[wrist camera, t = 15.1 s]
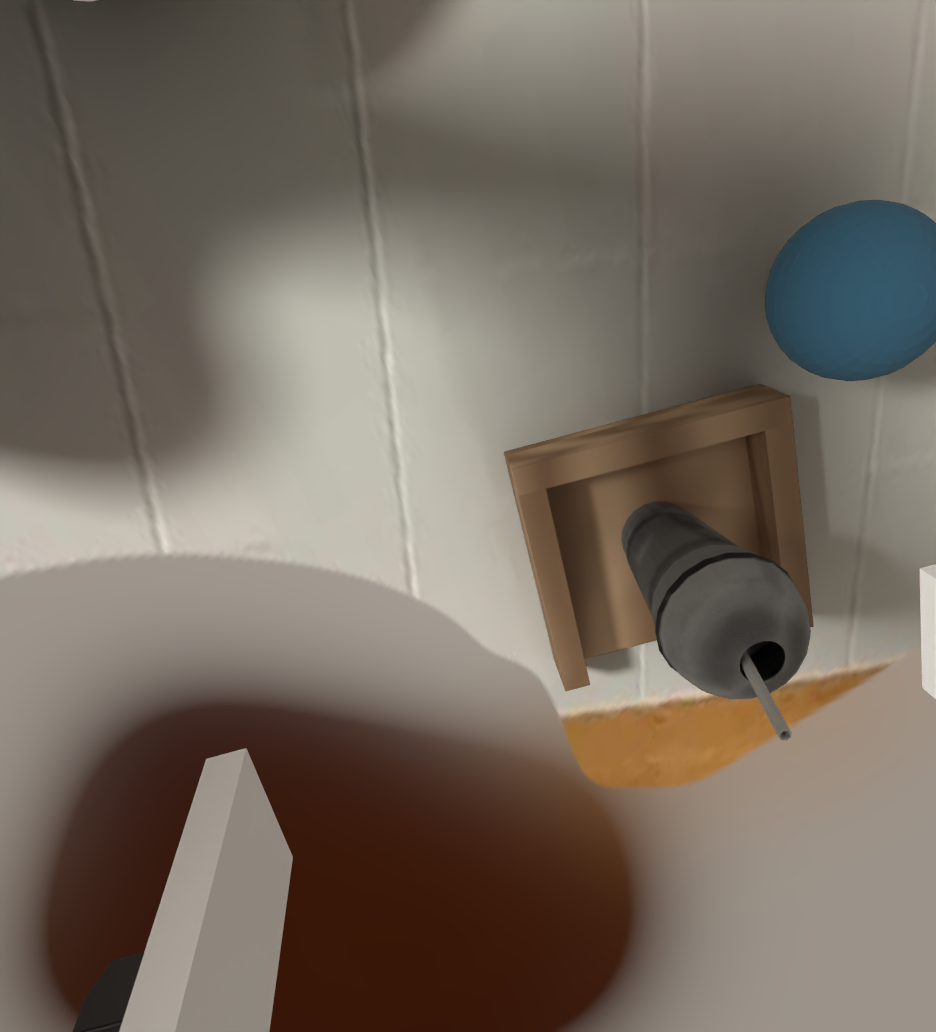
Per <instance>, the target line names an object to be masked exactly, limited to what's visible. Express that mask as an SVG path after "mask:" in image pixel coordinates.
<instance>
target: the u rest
mask: <svg viewBox="0 0 936 1032" xmlns="http://www.w3.org/2000/svg"><path fill="white" fill-rule="evenodd" d="M504 455H505V459H506V463H507V467H508V471H509V475H510V479H511V484H512V488H513V492H514V496H515V500H516V504H517V508H518V512H519V516H520V521H521V525H522V529H523V533H524V537H525V541H526V545H527V549H528V554H529V558H530V562H531V566H532V570H533V574H534V578H535V582H536V587H537V591H538V595H539V599H540V603H541V607H542V611H543V615H544V619H545V624H546V628H547V632H548V636H549V640H550V644H551V648H552V652H553V657H554V661H555V663H556V666H557V669H558V672H559V674H560V677H561V680H562V683H563V686H564V688H565V691H569V690H573V689H576V688H580V687H584V686H588V685H590V681H589V677H588V673H587V668H586V664H585V659H587V658H590V657H594V656H598V655H602V654H606V653H610V652H613V651H617V650H621V649H625V648H629V647H632V646H636V645H640V644H644V643H648V642H652V641H655V640H657V638H656V634H655V625H654V621H653V617H652V615H651V613H650V610H649V608H648V606H647V604H646V602H645V599H644V597H643V595H642V593H641V590H640V588H639V586H638V584H637V582H636V579H635V577H634V575H633V573H632V571H631V568H630V566H629V564H628V562H627V558H626V554H625V552H624V550H623V546H622V542H621V537H622V529H623V527H624V525H625V522H626V520H627V519H628V518H629V516H630V515H631V514H632V513H633V512H634V511H635V510H637V509H638V508H640V507H641V506H643V505H645V504H648V503H651V502H655V501H666V502H669V503H672V504H675V505H677V506H678V507H680V508H681V509H683V510H686V511H688V512H689V513H691V514H692V515H694V516H695V517H697V518H698V519H700V520H701V521H703V522H704V523H705V524H707V525H708V526H710V527H711V528H713V529H714V530H716V531H717V532H719V533H720V534H722V535H723V536H724V537H726V538H727V539H729V540H730V541H732V542H733V543H735V544H736V545H738V546H739V547H740V548H743V549H746V550H749V551H751V552H754V553H756V554H758V555H760V556H763V557H766V558H769V559H771V560H773V561H774V562H775V563H777V564H778V565H779V566H780V567H782V568H783V569H784V570H786V571H787V572H788V574H789V576H790V578H791V579H792V581H793V583H794V584H795V586H796V588H797V590H798V592H799V594H800V595H801V597H802V599H803V601H804V603H805V605H806V607H807V612H808V617H809V624H810V627H813V617H812V607H811V597H810V588H809V578H808V568H807V558H806V549H805V539H804V529H803V519H802V509H801V500H800V490H799V480H798V470H797V460H796V451H795V441H794V431H793V421H792V411H791V402H790V396H788V395H786V394H783V393H781V392H778V391H776V390H774V389H771V388H769V387H767V386H764V385H762V384H758V385H755V386H751V387H747V388H743V389H740V390H736V391H732V392H728V393H724V394H721V395H717V396H713V397H709V398H706V399H702V400H698V401H694V402H690V403H687V404H683V405H679V406H675V407H672V408H668V409H664V410H660V411H657V412H653V413H649V414H645V415H641V416H638V417H634V418H630V419H626V420H623V421H619V422H615V423H611V424H607V425H604V426H600V427H596V428H592V429H589V430H585V431H581V432H577V433H573V434H570V435H566V436H562V437H558V438H555V439H551V440H547V441H543V442H540V443H536V444H532V445H528V446H524V447H521V448H517V449H513V450H509V451H506V452H504Z"/></svg>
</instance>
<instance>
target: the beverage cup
mask: <svg viewBox="0 0 936 1032" xmlns="http://www.w3.org/2000/svg"><path fill="white" fill-rule="evenodd" d="M621 542H622V546H623V550H624V552H625V554H626V558H627V562H628V564H629V566H630V568H631V571H632V573H633V575H634V577H635V579H636V582H637V584H638V586H639V588H640V590H641V593H642V595H643V597H644V599H645V602H646V604H647V606H648V608H649V610H650V613H651V615H652V617H653V621H654V625H655V634H656V638H657V642H658V646H659V651H660V652H661V654H662V655H663V657H664V658H665V660H666V661H667V662H668V664H669V665H670V667H671V668H673V669H674V670H676V671H677V672H678V673H679V674H680V675H681V676H682V677H684V678H685V679H686V680H688V681H689V682H691V683H692V684H694V685H695V686H696V687H698V688H699V689H701V690H702V691H705V692H707V693H710V694H713V695H717V696H720V697H724V698H729V699H751V698H755V697H758V699H759V701H760V703H761V704H762V706H763V708H764V710H765V712H766V714H767V716H768V718H769V720H770V722H771V724H772V725H773V727H774V729H775V731H776V733H777V735H778V737H779V738H780V739H781V740H788V739H789V738H790V737H791V731H790V729H789V728H788V726H787V724H786V722H785V720H784V718H783V717H782V715H781V713H780V711H779V709H778V707H777V706H776V704H775V702H774V700H773V698H772V696H771V695H770V693H771V692H773V691H774V690H776V689H778V688H779V687H781V686H783V685H784V684H786V683H787V682H788V681H789V680H790V678H791V677H792V676H793V675H794V674H795V673H796V672H797V671H798V669H799V667H800V665H801V663H802V662H803V660H804V658H805V656H806V654H807V650H808V645H809V640H810V632H811V631H810V624H809V617H808V612H807V607H806V605H805V603H804V601H803V599H802V597H801V595H800V594H799V592H798V590H797V588H796V586H795V584H794V583H793V581H792V579H791V578H790V576H789V574H788V572H787V571H786V570H784V569H783V568H782V567H780V566H779V565H778V564H777V563H775V562H774V561H773V560H771V559H769V558H766V557H763V556H760V555H758V554H756V553H754V552H751V551H749V550H746V549H743V548H740V547H739V546H738V545H736V544H735V543H733V542H732V541H730V540H729V539H727V538H726V537H724V536H723V535H722V534H720V533H719V532H717V531H716V530H714V529H713V528H711V527H710V526H708V525H707V524H705V523H704V522H703V521H701V520H700V519H698V518H697V517H695V516H694V515H692V514H691V513H689V512H688V511H686V510H683V509H681V508H680V507H678V506H677V505H675V504H672V503H669V502H666V501H655V502H651V503H648V504H645V505H643V506H641V507H640V508H638V509H637V510H635V511H634V512H633V513H632V514H631V515H630V516H629V518H628V519H627V520H626V522H625V525H624V527H623V529H622V537H621Z"/></svg>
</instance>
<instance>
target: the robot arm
mask: <svg viewBox="0 0 936 1032" xmlns="http://www.w3.org/2000/svg"><path fill="white" fill-rule="evenodd" d="M920 609H921V653H922V654H921V656H922V688H923V689H924V690H926V691H927V692H928V693H929V694H930V695H931V696H932V697H934V698H935V699H936V564H934V565H930V566H926V567H923V568H920ZM292 859H293V857H292V854H291V852H290V850H289V848H288V845H287V843H286V840H285V838H284V836H283V834H282V831H281V829H280V827H279V824H278V822H277V820H276V817H275V815H274V813H273V810H272V808H271V805H270V803H269V801H268V798H267V796H266V794H265V791H264V789H263V787H262V784H261V782H260V780H259V777H258V775H257V773H256V770H255V768H254V766H253V763H252V761H251V759H250V756H249V754H248V752H247V749H242V750H238V751H234V752H231V753H227V754H223V755H219V756H216V757H212V758H208V759H206V762H205V765H204V768H203V771H202V774H201V777H200V780H199V784H198V787H197V790H196V793H195V796H194V799H193V802H192V806H191V809H190V812H189V815H188V818H187V821H186V825H185V827H184V830H183V834H182V837H181V840H180V843H179V846H178V849H177V852H176V855H175V859H174V862H173V865H172V868H171V871H170V874H169V877H168V881H167V884H166V887H165V890H164V893H163V896H162V899H161V902H160V906H159V909H158V912H157V915H156V918H155V921H154V925H153V927H152V931H151V934H150V937H149V940H148V943H147V946H146V950H145V952H144V953H140V954H136V955H133V956H129V957H125V958H122V959H118V960H114V961H111V962H110V964H109V965H108V967H107V968H106V969H105V971H104V972H103V973H102V975H101V976H100V978H99V979H98V981H97V982H96V983H95V985H94V986H93V987H92V989H91V990H90V992H89V993H88V995H87V996H86V998H85V1000H84V1003H83V1006H82V1008H81V1011H80V1014H79V1016H78V1019H77V1022H76V1024H75V1028H74V1030H73V1032H269V1029H270V1022H271V1014H272V1007H273V1000H274V992H275V985H276V977H277V970H278V963H279V955H280V948H281V940H282V933H283V926H284V918H285V911H286V903H287V895H288V889H289V881H290V873H291V866H292Z"/></svg>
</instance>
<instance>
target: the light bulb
mask: <svg viewBox="0 0 936 1032" xmlns="http://www.w3.org/2000/svg"><path fill="white" fill-rule="evenodd" d="M765 309H766V318H767V321H768V324H769V328H770V331H771V333H772V335H773V336H774V338H775V340H776V342H777V343H778V345H779V347H780V348H781V350H782V351H783V352H784V353H785V354H786V355H787V356H788V357H789V358H790V359H791V360H792V361H793V362H795V363H796V364H798V365H799V366H801V367H802V368H804V369H805V370H807V371H809V372H811V373H814V374H816V375H819V376H821V377H824V378H831V379H838V380H844V381H857V380H866V379H871V378H875V377H879V376H883V375H887V374H890V373H892V372H894V371H896V370H898V369H901V368H903V367H904V366H906V365H907V364H909V363H910V362H912V361H913V360H915V359H916V358H918V357H919V356H920V355H922V354H923V353H924V352H925V351H926V350H927V349H928V348H929V347H931V346H932V345H933V344H934V343H935V341H936V223H935V222H934V221H933V220H931V219H930V218H929V217H928V216H926V215H925V214H923V213H921V212H920V211H918V210H916V209H914V208H911V207H909V206H907V205H905V204H901V203H895V202H889V201H882V200H865V201H857V202H854V203H850V204H846V205H842V206H838V207H834V208H832V209H830V210H828V211H826V212H824V213H822V214H820V215H818V216H817V217H815V218H814V219H813V220H811V221H810V222H809V223H807V224H806V225H804V226H803V227H802V228H800V229H799V230H798V231H797V232H796V233H795V234H794V235H793V236H792V237H791V238H790V239H789V240H788V241H787V243H786V244H785V246H784V247H783V249H782V250H781V252H780V253H779V254H778V256H777V258H776V260H775V262H774V265H773V267H772V269H771V271H770V275H769V278H768V282H767V286H766V295H765Z"/></svg>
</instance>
